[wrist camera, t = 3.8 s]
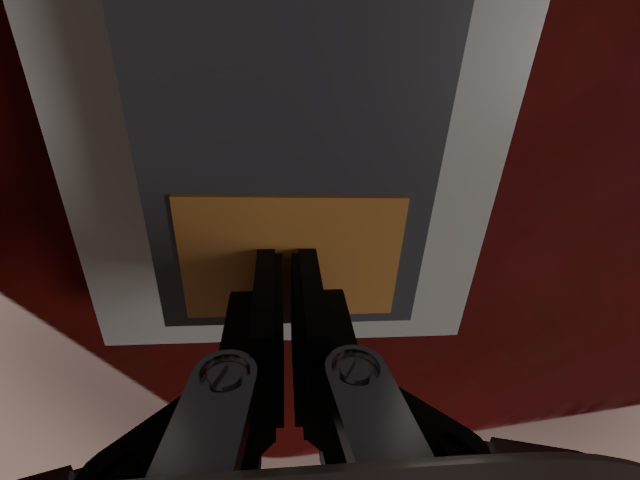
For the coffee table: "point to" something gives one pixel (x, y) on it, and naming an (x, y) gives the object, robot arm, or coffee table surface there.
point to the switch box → (123, 194)
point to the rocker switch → (287, 141)
